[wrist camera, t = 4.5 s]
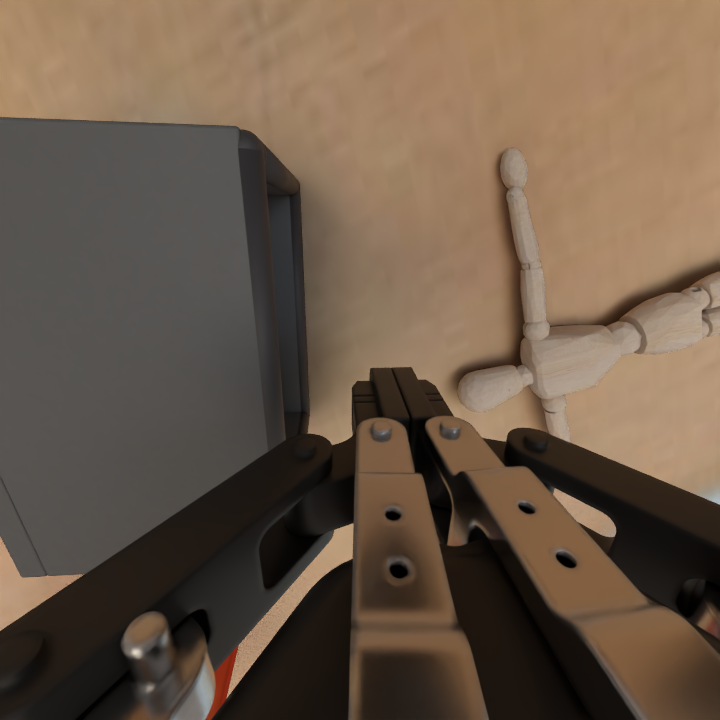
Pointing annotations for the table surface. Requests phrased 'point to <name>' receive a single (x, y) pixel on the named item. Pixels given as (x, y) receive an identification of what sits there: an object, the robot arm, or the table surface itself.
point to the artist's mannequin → (580, 328)
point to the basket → (139, 327)
